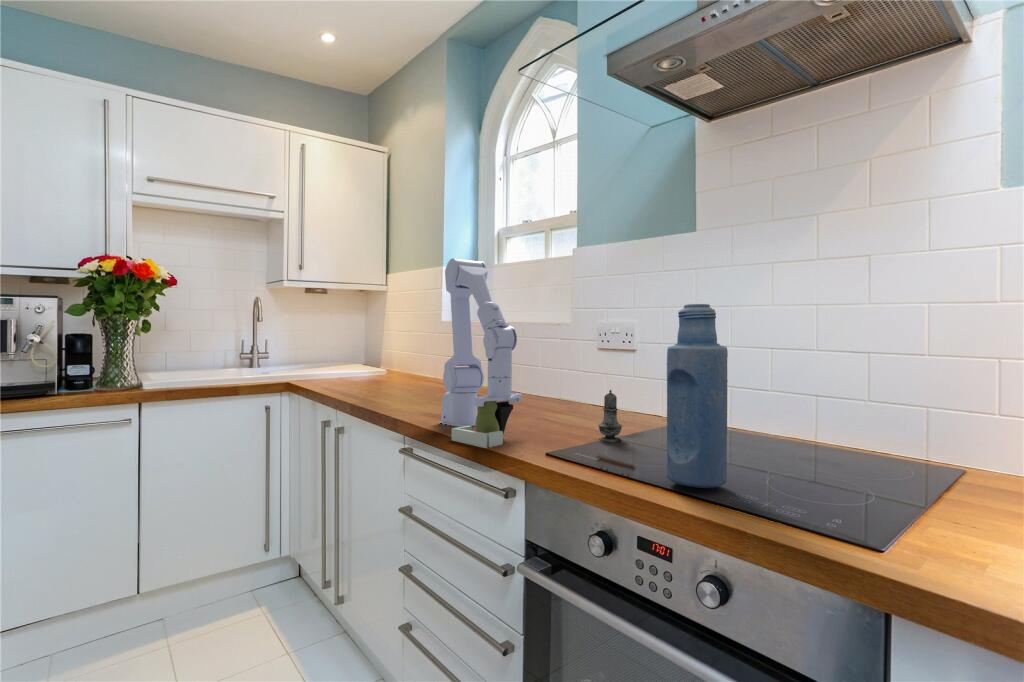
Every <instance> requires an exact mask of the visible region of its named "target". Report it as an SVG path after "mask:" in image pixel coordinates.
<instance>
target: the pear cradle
mask: <svg viewBox="0 0 1024 682" xmlns="http://www.w3.org/2000/svg"><path fill="white" fill-rule="evenodd" d="M472 427H473V426H464V427H452V428H451V441H453V442H457V443H462V444H466V445H470V446H475V447H478V448H483V449H488V447H489V448H494V447H497V446H501V445H503V443H504V440H503V439H504V434H503V431H495V432H490V433H481V432H476V430H473V428H472ZM493 446H494V447H493Z"/></svg>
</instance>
